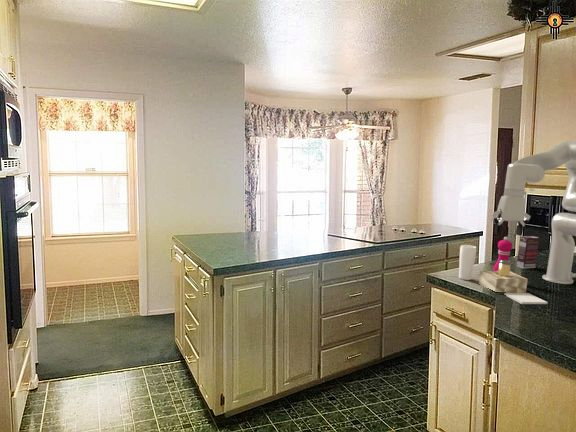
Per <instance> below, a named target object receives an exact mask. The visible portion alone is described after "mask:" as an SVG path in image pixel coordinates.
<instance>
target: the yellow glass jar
mask: <svg viewBox="0 0 576 432" xmlns="http://www.w3.org/2000/svg"><path fill="white" fill-rule="evenodd" d="M511 265H512V261H510V260H509V259H508V260H500V261H499V269H498V275H499V276H501V277H509V273H510V270H511Z"/></svg>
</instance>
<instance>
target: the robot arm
mask: <svg viewBox="0 0 576 432" xmlns="http://www.w3.org/2000/svg"><path fill="white" fill-rule="evenodd" d="M562 165H564V167H565V168H566V172H567V175H568V181H567V185H566V188H565V190H564V195H563V197H562V201H561V206H562V209H564V210H566V211H568V212H558V213H556V214H554V216H553V217H552V219H551V225H550V226H551V242H550V248H549V255H548V261H547V269H546V274H543V275H542V277H541V278H542V279H543V280H545V281H547V282H550V283H555V284H561V285H572V284H573V283H574V279H575V278H576V273H573V272H572V266H573V261H574V253H575V249H576V244H575V239H574V238H573V236H575V237H576V213H575V212H576V140H565V141H561V142H559V143H558V144H556V145H554V146H552V147H550V148H548V149H547V150H545V151H544V152H539V153H535V154H532V155H527V156H524V157H522V158H519V159H518V160H516V161H514V162H512V163H509V164H508V165H507V168H506V169H507V170H506V175H505V181H504V183H505V184H504V190H503V195H501V197H500V199H499V202H498V205H497V210H496V211H494V212H491V213H490V216H491V220H492V222H493V224H495V226H494V234H495V235H498V236H500V235H501V234H502V228H503V227H502V224H503V222H516V223H517V225H516V228H515V235H516V236H519V237H520V236H522V235H523V232H524V230H523V229H524V227H525V226H526V224H528V223H529V220H530V219H531V215H529V214H528V213H527V212H526V198H525V196H526V195H527V191H525V189H526V184H527V183H530V184H531V183H532V184H537V183H540V182H541V181H542V180H543V179H544V178H545V176H546V172H547V171H553V170H556V169H557V168H560V167H561V166H562ZM569 211H570V212H574V213H575V214H574V213H569Z"/></svg>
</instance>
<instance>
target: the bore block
mask: <svg viewBox="0 0 576 432" xmlns="http://www.w3.org/2000/svg"><path fill="white" fill-rule="evenodd" d="M478 279H479V280H478V285H479V284H480V285H479V286H481V285H482V286H481V287H483V286H484V287H483V288H485V287H486V288H485V289H487V288H489V289H491V290H493V291H495V292H506V293H527V286H528V280H529V279H528V278H526V277H523V276H522V275H519V274H518V273H514V272H513V271H511V272H510V273H509V277H501V276H499V275H498V271H493V270H479V277H478ZM489 289H488V290H489Z"/></svg>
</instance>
